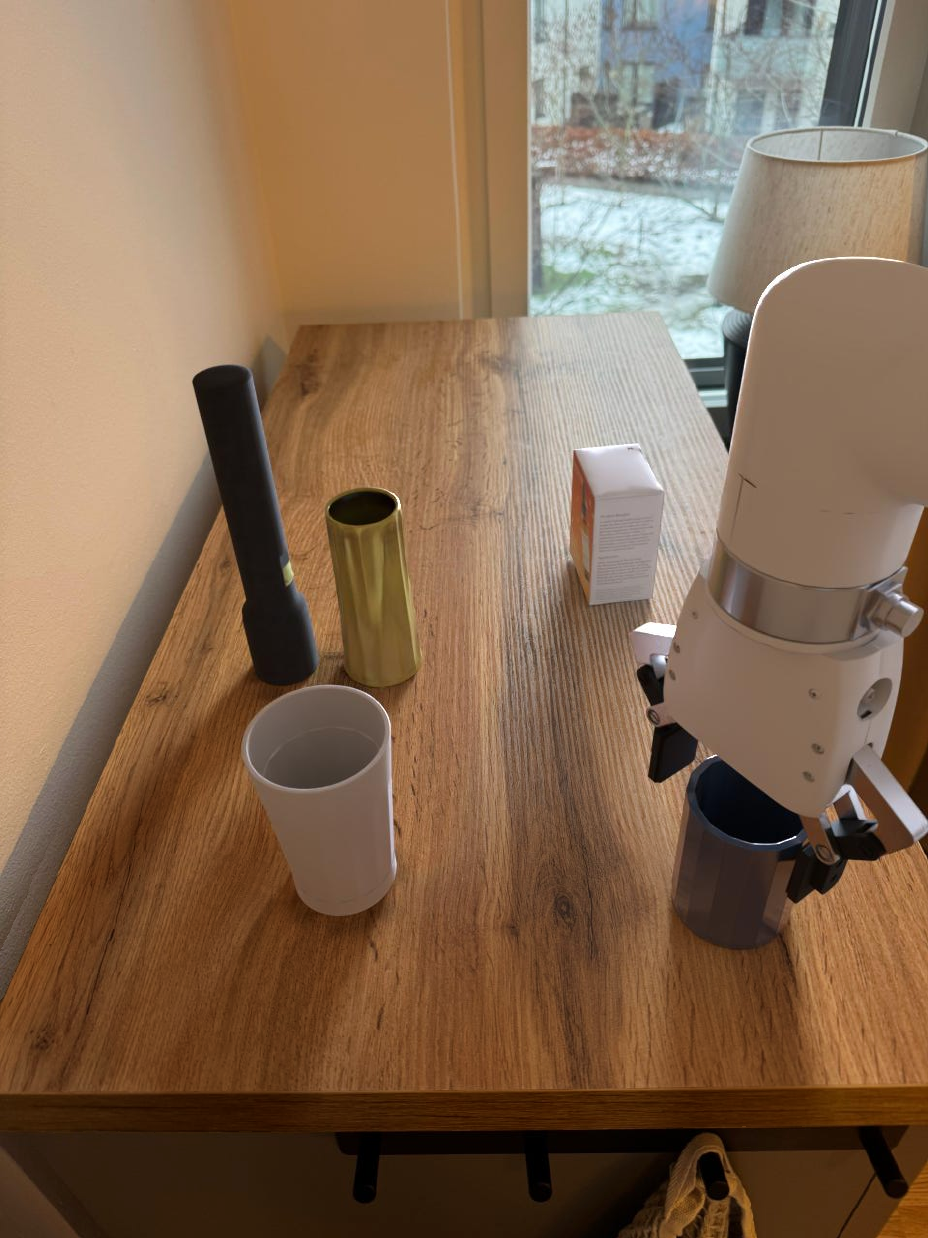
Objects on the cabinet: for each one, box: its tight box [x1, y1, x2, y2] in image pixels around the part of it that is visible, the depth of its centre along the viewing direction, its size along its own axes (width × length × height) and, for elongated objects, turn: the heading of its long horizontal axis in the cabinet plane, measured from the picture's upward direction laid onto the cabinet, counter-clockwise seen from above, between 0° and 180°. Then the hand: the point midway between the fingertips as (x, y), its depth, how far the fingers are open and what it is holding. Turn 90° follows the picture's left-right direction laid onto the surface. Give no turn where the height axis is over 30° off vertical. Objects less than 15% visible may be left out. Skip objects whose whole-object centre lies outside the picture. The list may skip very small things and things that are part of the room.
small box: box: [568, 443, 666, 606], centre depth 76 cm, size 8×6×10 cm
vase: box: [324, 486, 423, 688], centre depth 67 cm, size 6×6×14 cm
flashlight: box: [191, 363, 320, 687], centre depth 64 cm, size 5×24×5 cm
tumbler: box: [670, 754, 809, 951], centre depth 51 cm, size 7×7×9 cm
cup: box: [240, 684, 398, 917], centre depth 53 cm, size 8×8×12 cm
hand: (735, 824), depth 50 cm, fingers open, 9 cm apart
